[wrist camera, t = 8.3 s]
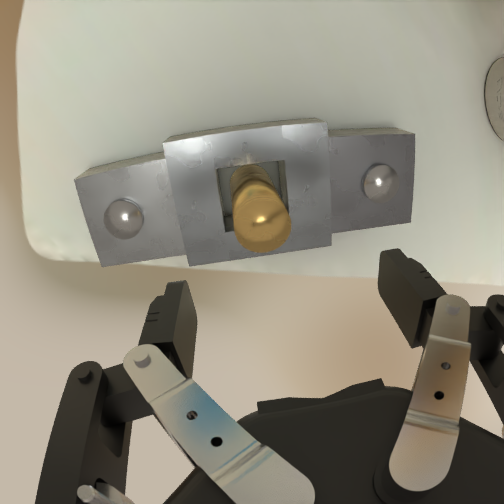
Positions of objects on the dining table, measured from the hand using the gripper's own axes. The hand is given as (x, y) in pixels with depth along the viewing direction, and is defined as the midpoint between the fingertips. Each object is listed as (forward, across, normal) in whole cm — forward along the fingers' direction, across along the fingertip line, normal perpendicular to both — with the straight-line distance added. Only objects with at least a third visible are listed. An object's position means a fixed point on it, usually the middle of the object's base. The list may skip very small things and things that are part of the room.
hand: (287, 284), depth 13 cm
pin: (+13, +1, 0) cm, 13 cm away
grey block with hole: (+13, +1, 0) cm, 13 cm away
